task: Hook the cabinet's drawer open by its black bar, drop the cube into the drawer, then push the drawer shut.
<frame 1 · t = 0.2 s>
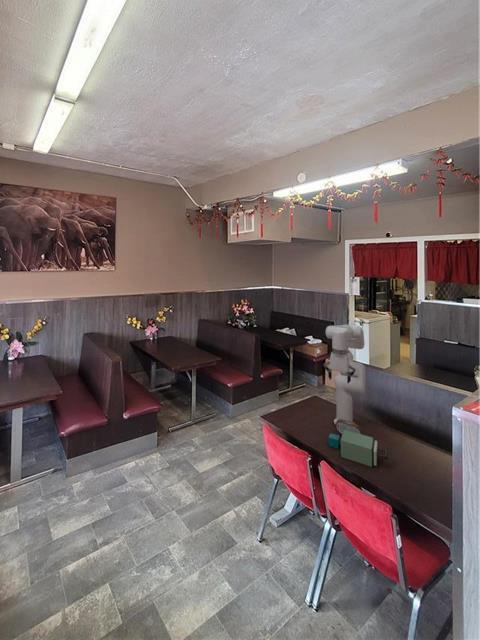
hand: (339, 380, 177), 36 cm above the table, tool pointing down, fingers open, 9 cm apart
drawer: (367, 450, 163), point 5 cm above the table, slide at 0.8 cm
tin: (348, 436, 184), on the table
cube: (334, 445, 175), on the table
cabinet: (357, 455, 166), on the table
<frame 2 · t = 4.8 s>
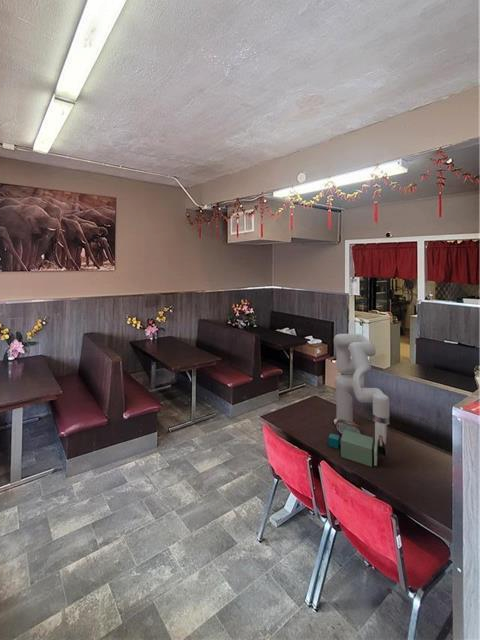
hand: (381, 453, 159), 5 cm above the table, tool pointing down, fingers closed
drawer: (367, 450, 163), point 5 cm above the table, slide at 1.0 cm, touching gripper
everything else where it was.
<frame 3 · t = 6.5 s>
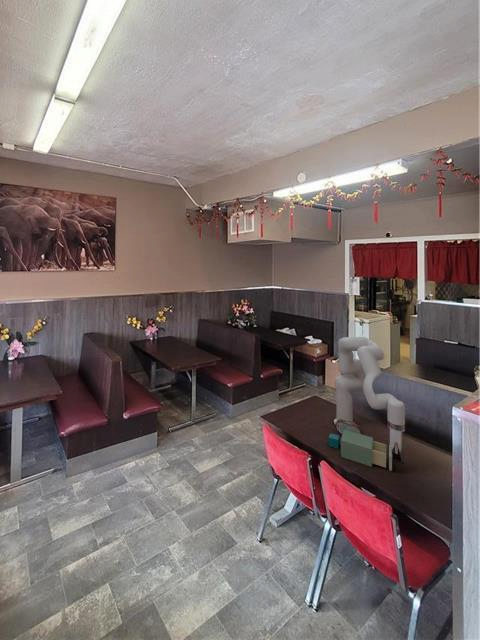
hand: (396, 460, 156), 4 cm above the table, tool pointing down, fingers closed
drawer: (382, 454, 159), point 5 cm above the table, slide at 7.5 cm
everything else where it was.
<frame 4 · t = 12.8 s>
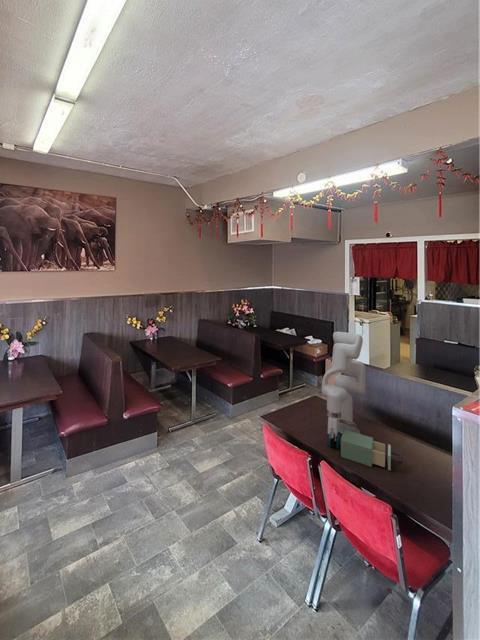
hand: (334, 444, 175), 0 cm above the table, tool pointing down, fingers closed on cube, 5 cm apart
drawer: (381, 454, 160), point 5 cm above the table, slide at 7.0 cm
cube: (334, 445, 175), on the table, touching gripper
everything else where it was.
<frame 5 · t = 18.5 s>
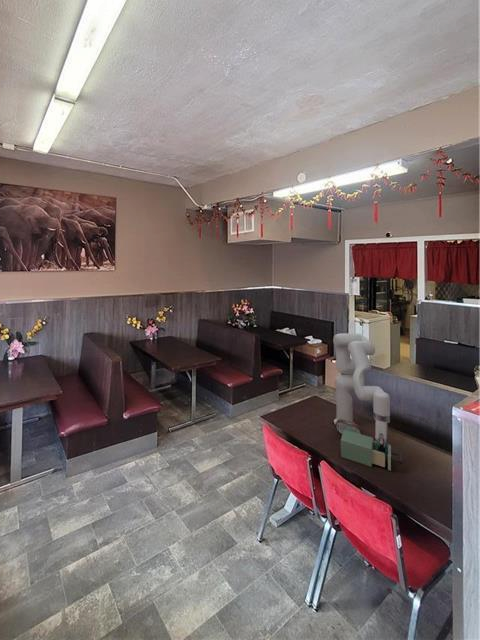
hand: (381, 450, 159), 7 cm above the table, tool pointing down, fingers closed on cube, 5 cm apart
drawer: (381, 454, 160), point 5 cm above the table, slide at 7.0 cm, touching gripper
cube: (381, 451, 159), point 6 cm above the table, touching gripper
everything else where it was.
when the fingers open (10 cm above the table, at t = 34.7 s): cube drops 7 cm, resting on drawer.
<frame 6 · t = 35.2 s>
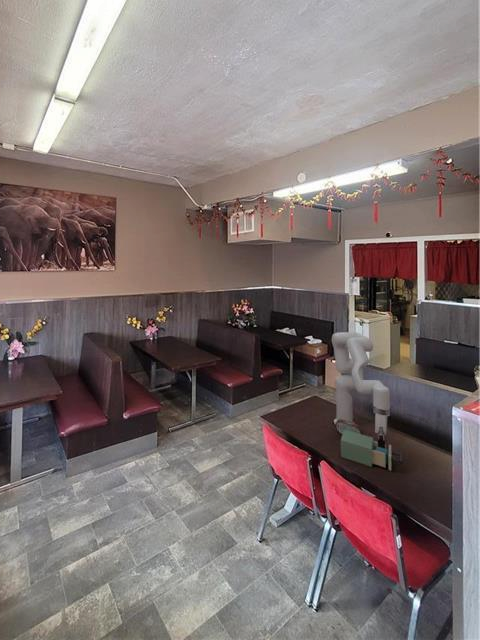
hand: (381, 442, 159), 11 cm above the table, tool pointing down, fingers open, 9 cm apart
drawer: (381, 454, 159), point 5 cm above the table, slide at 7.2 cm, touching cube
cube: (381, 459, 159), point 2 cm above the table, touching drawer
everything else where it was.
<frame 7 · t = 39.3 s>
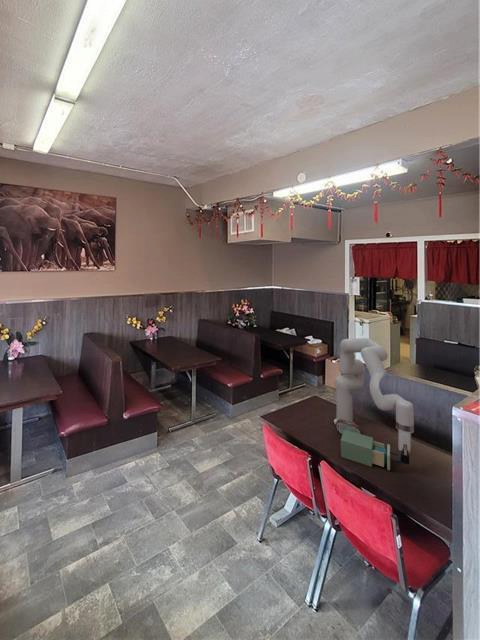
hand: (405, 462, 154), 4 cm above the table, tool pointing down, fingers closed
drawer: (380, 454, 160), point 5 cm above the table, slide at 6.6 cm, touching gripper, cube
everything else where it was.
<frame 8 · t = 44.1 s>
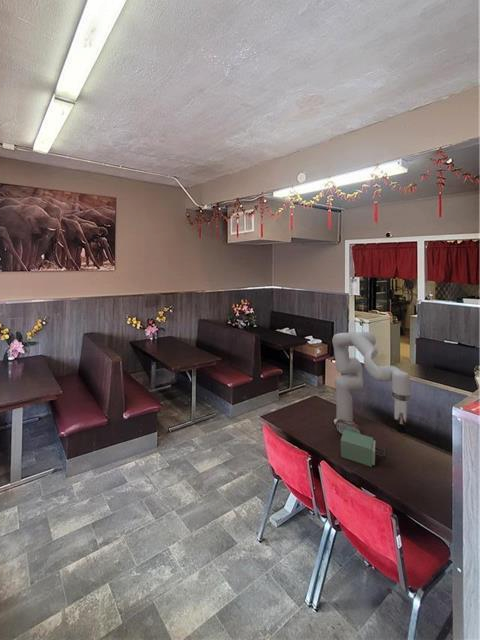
hand: (401, 432, 155), 19 cm above the table, tool pointing down, fingers closed
drawer: (365, 449, 163), point 5 cm above the table, slide at 0.0 cm, touching cabinet, cube
cube: (365, 454, 163), point 2 cm above the table, touching drawer
everything else where it was.
at the end: drawer pulled out 7.5 cm at the most during the clip and back in by the end; cube inside the target area in the cabinet (4.2 cm from its centre), point 2.0 cm above the cabinet's base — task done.
